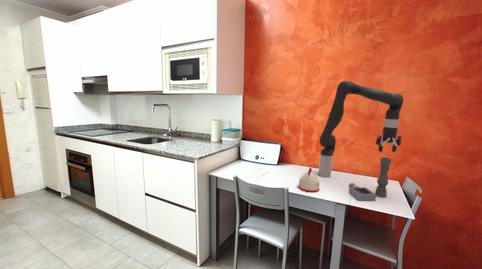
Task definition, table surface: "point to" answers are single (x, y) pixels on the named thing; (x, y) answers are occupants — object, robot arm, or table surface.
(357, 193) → the grey tray
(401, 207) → the table surface
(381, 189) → the candle holder
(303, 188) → the beige red dome
